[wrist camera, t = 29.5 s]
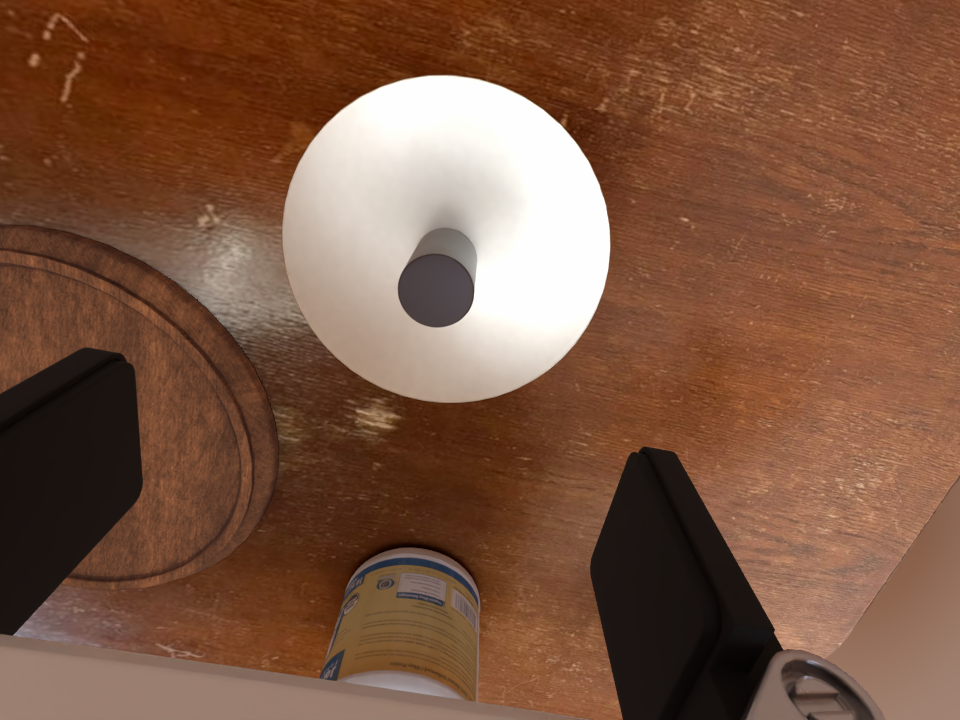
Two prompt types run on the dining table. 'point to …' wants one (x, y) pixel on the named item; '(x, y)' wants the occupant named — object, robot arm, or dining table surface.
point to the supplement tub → (408, 626)
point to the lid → (446, 238)
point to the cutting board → (147, 400)
